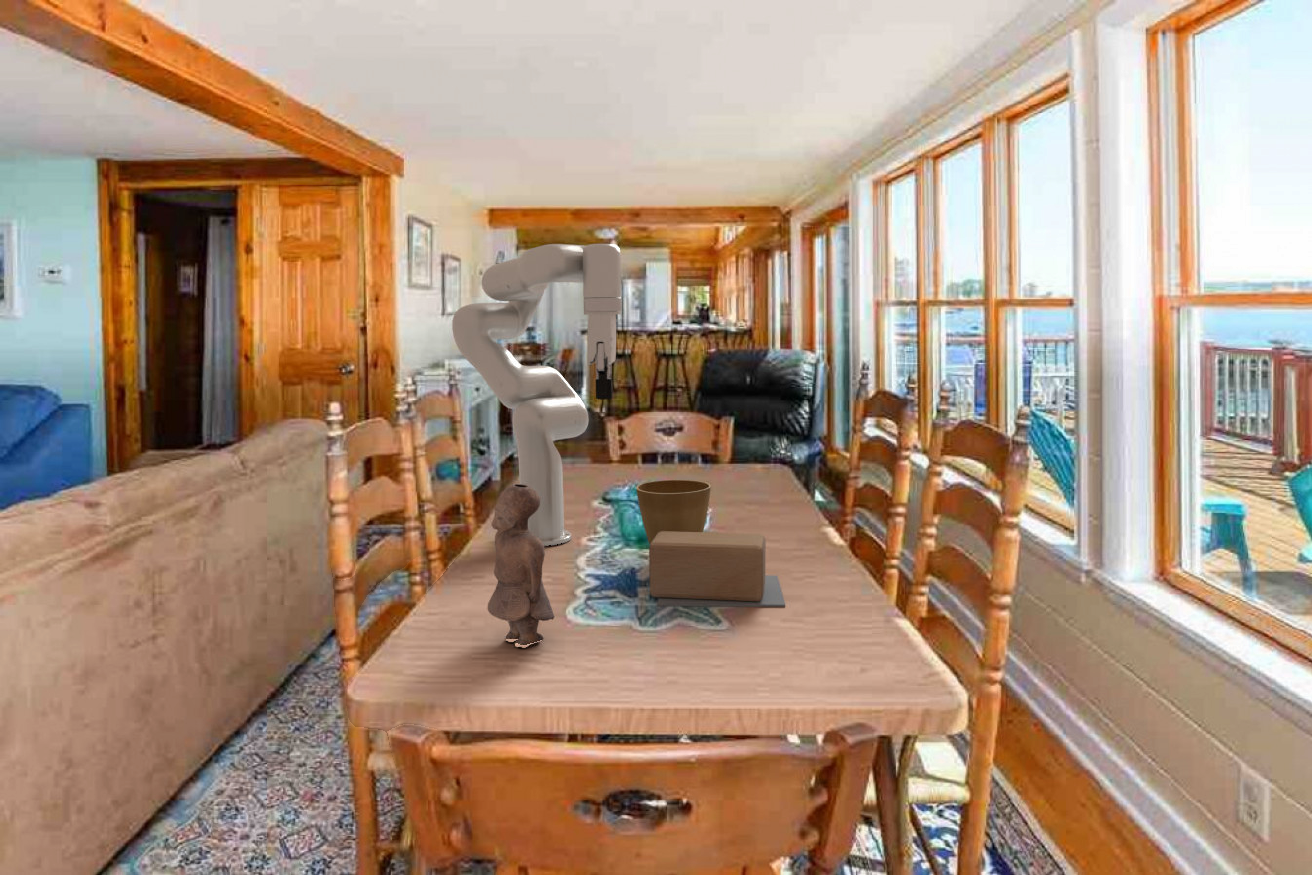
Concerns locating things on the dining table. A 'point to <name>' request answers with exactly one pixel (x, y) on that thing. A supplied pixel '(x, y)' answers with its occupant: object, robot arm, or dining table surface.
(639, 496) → the plant pot
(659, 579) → the block
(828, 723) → the dining table surface
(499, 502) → the clay figurine
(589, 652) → the dining table surface
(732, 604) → the mat
